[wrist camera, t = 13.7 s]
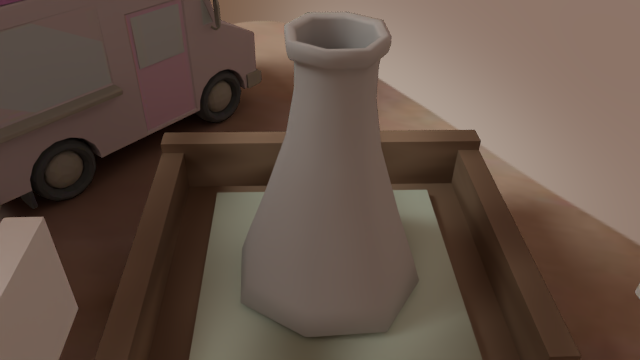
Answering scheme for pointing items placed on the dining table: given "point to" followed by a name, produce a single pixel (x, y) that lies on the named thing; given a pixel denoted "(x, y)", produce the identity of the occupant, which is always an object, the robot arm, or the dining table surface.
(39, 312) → the robot arm
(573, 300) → the dining table surface
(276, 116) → the dining table surface
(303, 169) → the flask
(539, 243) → the dining table surface
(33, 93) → the toy vehicle
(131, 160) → the dining table surface
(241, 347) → the dock
